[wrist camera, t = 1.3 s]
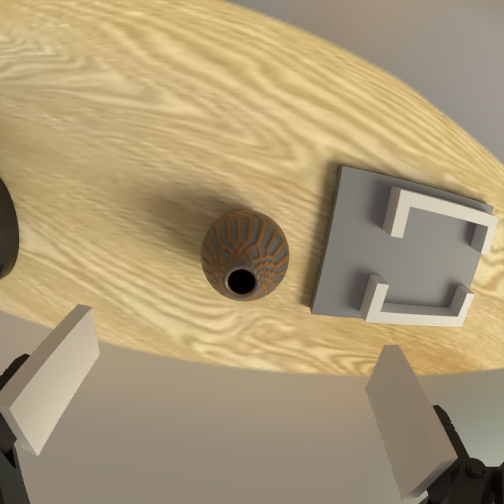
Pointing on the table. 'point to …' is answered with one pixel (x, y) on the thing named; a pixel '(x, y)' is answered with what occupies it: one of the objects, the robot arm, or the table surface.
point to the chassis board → (400, 251)
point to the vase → (245, 255)
